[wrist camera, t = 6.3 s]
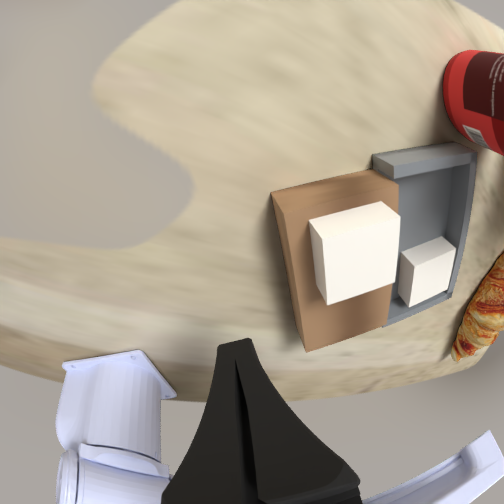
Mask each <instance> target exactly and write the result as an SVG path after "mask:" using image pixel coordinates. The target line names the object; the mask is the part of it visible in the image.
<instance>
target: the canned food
mask: <svg viewBox="0 0 504 504" xmlns="http://www.w3.org/2000/svg"><path fill="white" fill-rule="evenodd" d="M443 96H444V103H445V107H446V111H447V113H448V116H449V118H450V120H451V122H452V124H453V125H454V127H455V128H456V129H457V130H458V131H459V132H460V133H461V134H462V135H463V136H464V137H466V138H467V139H468V140H470V141H472V142H474V143H477V144H479V145H481V146H483V147H486V148H488V149H490V150H492V151H494V152H497V153H499V154H501V155H503V156H504V54H502V53H495V52H487V51H477V50H467V51H464V52H461V53H458V54H457V55H455V56H453V58H452V59H451V60H450V61H449V63H448V65H447V67H446V70H445V74H444V80H443Z"/></svg>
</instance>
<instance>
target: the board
mask: <svg viewBox="0 0 504 504" xmlns="http://www.w3.org/2000/svg"><path fill="white" fill-rule="evenodd" d="M271 196H272V201H273V206H274V211H275V216H276V221H277V226H278V231H279V236H280V241H281V246H282V251H283V257H284V262H285V267H286V273H287V278H288V283H289V289H290V294H291V300H292V306H293V311H294V317H295V323H296V327H297V330H298V332H299V335H300V338H301V340H302V343H303V346H304V348H305V351H306V353H307V352H310V351H313V350H316V349H319V348H322V347H325V346H328V345H331V344H334V343H337V342H340V341H343V340H346V339H349V338H352V337H354V336H357V335H360V334H363V333H365V332H368V331H371V330H373V329H376V328H378V327H381V326H383V325H386V324H387V318H388V312H389V305H390V298H391V291H392V283H391V284H388V285H386V286H383V287H380V288H377V289H375V290H372V291H369V292H366V293H363V294H360V295H357V296H354V297H352V298H349V299H346V300H343V301H340V302H336V303H333V304H330V305H327V304H326V302H325V300H324V298H323V296H322V294H321V292H320V290H319V289H318V287H317V285H316V278H315V269H314V260H313V251H312V243H311V235H310V227H309V220H311V219H314V218H318V217H322V216H326V215H329V214H333V213H337V212H341V211H345V210H349V209H352V208H356V207H360V206H364V205H368V204H372V203H376V202H380V201H382V202H383V203H384V204H386V205H387V206H388V207H389V208H391V209H392V210H393V211H394V212H395V213H397V214H398V201H399V185H398V184H396V183H395V182H393V181H392V180H390V179H389V178H387V177H385V176H384V175H382V174H381V173H379V172H377V171H376V170H374V169H370V170H365V171H360V172H356V173H351V174H346V175H342V176H337V177H333V178H328V179H324V180H320V181H315V182H311V183H307V184H303V185H299V186H294V187H290V188H286V189H282V190H278V191H274V192H271Z"/></svg>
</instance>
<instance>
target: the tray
mask: <svg viewBox="0 0 504 504" xmlns="http://www.w3.org/2000/svg"><path fill="white" fill-rule="evenodd" d="M372 158H373V169H374V170H376V171H377V172H379V173H381V174H382V175H384V176H385V177H387V178H389V179H390V180H392V181H393V182H395V183H396V184H398V185H399V201H398V215H399V216H400V234H399V247H398V258H397V268H396V276H395V282H394V283H392V291H391V298H390V305H389V312H388V318H387V324H386V325H383V326H382V328H383V327H386V326H388V325H391V324H393V323H396V322H398V321H400V320H403V319H405V318H407V317H410V316H412V315H414V314H417V313H419V312H421V311H423V310H425V309H428V308H430V307H432V306H434V305H436V304H438V303H440V302H443V301H445V300H447V299H449V298H451V296H452V293H453V289H454V286H455V283H456V279H457V275H458V271H459V268H460V264H461V260H462V255H463V251H464V246H465V242H466V237H467V232H468V226H469V221H470V215H471V208H472V202H473V194H474V186H475V176H476V164H477V151H474V150H472V149H470V148H468V147H465V146H463V145H461V144H458V143H456V142H451V143H443V144H435V145H428V146H421V147H414V148H408V149H401V150H395V151H389V152H383V153H378V154H372ZM441 236H442V237H443V238H445V239H446V240H447V241H448V242H449V243H450V244H452V245H453V246H454V247H455V248H456V251H455V257H454V262H453V267H452V272H451V276H450V281H449V285H448V289H447V290H445V291H443V292H441V293H439V294H437V295H435V296H433V297H430V298H428V299H426V300H424V301H422V302H420V303H418V304H416V305H413V306H411V307H408V306H407V305H406V303H405V302H404V301H403V299H402V298H401V297H400V295H399V294H398V284H399V273H400V260H401V252H402V251H405V250H408V249H410V248H413V247H415V246H418V245H421V244H423V243H426V242H428V241H431V240H433V239H436V238H438V237H441Z"/></svg>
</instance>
